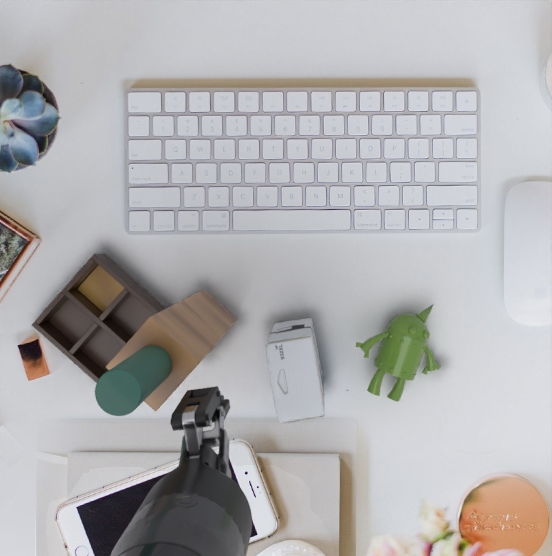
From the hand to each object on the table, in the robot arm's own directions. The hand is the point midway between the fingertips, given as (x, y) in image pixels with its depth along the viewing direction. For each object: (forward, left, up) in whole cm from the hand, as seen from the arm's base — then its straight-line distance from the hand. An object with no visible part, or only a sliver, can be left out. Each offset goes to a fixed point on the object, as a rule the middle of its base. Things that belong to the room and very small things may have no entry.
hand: (225, 451), depth 50 cm
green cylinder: (+3, +10, +4) cm, 11 cm away
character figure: (+16, -9, -18) cm, 26 cm away
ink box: (+7, -1, -18) cm, 20 cm away
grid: (-5, +19, -18) cm, 26 cm away
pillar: (+3, +10, -18) cm, 21 cm away
